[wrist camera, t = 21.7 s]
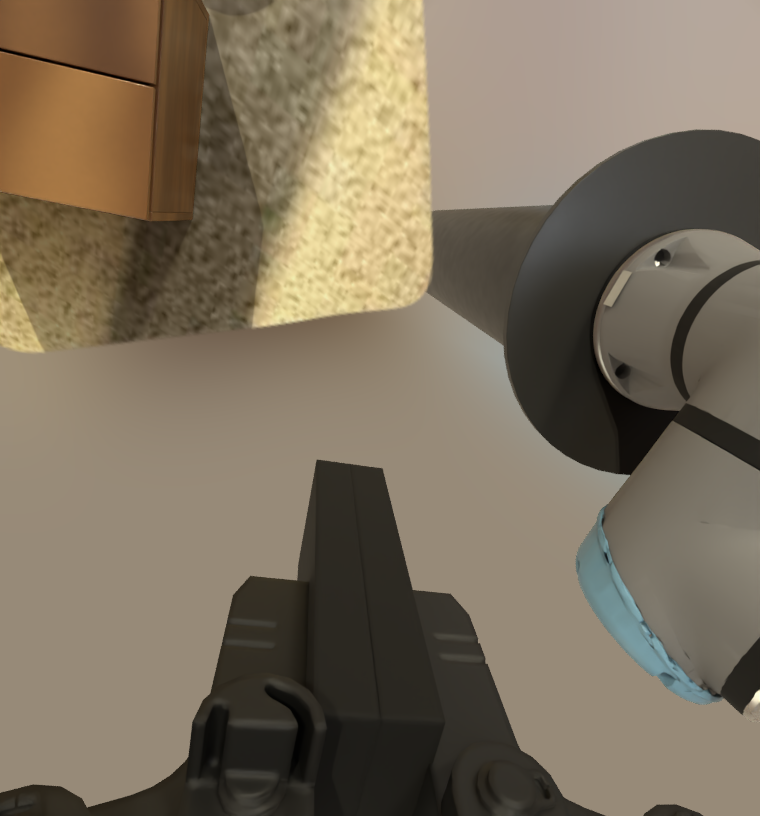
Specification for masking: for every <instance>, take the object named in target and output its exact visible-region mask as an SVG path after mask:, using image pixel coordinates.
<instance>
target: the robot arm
mask: <svg viewBox="0 0 760 816" xmlns="http://www.w3.org/2000/svg"><path fill="white" fill-rule="evenodd" d="M590 344H591V351H592V355H593V358H594V361H595V364H596V366H597V369H598V371H599V372H600V374H601V376H602V377H603V378H604V380H605V381H606V382H607V383H608V384H609V385H610V386H611V387H612V388H613V389H614V390H615V391H617V392H618V393H620V394H621V395H623V396H625V397H626V398H628V399H630V400H632V401H633V402H635V403H638V404H640V405H643V406H645V407H649V408H654V409H661V410H675V411H679V413H678V414H677V415H676V417H675V418H674V419H673V421H671V423H670V424H669V425H668V427H667V428H666V429H665V431H664V432H663V433H662V435H661V436H660V437H659V439H658V440H657V441H656V443H655V444H654V445H653V447H652V448H651V449H650V451H649V452H648V453H647V455H646V456H645V457H644V459H643V460H642V461H641V463H640V464H639V465H638V466H637V468H636V469H635V470H634V472H633V473H632V474H631V475H630V477H629V478H628V479H627V481H626V482H625V483H624V484H623V486H622V487H621V488H620V490H619V491H618V492H617V493H616V495H615V496H614V497H613V499H612V500H611V501H610V502H609V504H607V505H606V506H605V507H603V508H602V509H601V510H600V512H599V514H598V517H597V522H596V523H595V525H594V526H593V528H592V529H591V531H590V532H589V534H588V535H587V537H586V538H585V539H584V541H583V543H582V544H581V545H580V547H579V549H578V552H577V556H576V571H577V574H578V580H579V584H580V586H581V589H582V591H583V593H584V595H585V597H586V599H587V601H588V603H589V605H590V606H591V608H592V609H593V611H594V613H595V614H596V616H597V617H598V619H599V620H600V621H601V623H602V624H603V625H604V627H605V628H606V629H607V631H608V632H609V633H610V634H611V636H612V637H613V638H614V639H615V640H616V641H617V643H618V644H619V645H620V646H621V647H622V648H623V649H624V650H625V652H626V653H627V654H628V655H629V656H630V657H631V658H632V659H633V660H634V661H635V662H636V663H637V664H638V665H639V666H640V667H642V668H643V669H644V670H645V671H646V672H647V673H649V674H650V675H651V676H657V677H658V678H659V679H660V680H661V682H662V683H663V684H664V685H665V687H666V688H667V689H669V690H670V691H672V692H673V693H675V694H676V695H678V696H680V697H681V698H683V699H685V700H688V701H691V702H693V703H696V704H710V703H712V702H719V701H721V700H722V699H723V698H725V699H726V700H727V701H728V702H729V703H730V704H731V705H732V706H733V707H734V708H735V709H736V710H738V711H739V712H740V713H741V714H742V715H743V716H744V717H745V718H747V719H748V720H749V721H754V722H760V250H758V249H756V248H755V247H753V246H751V245H750V244H748V243H747V242H745V241H743V240H742V239H740V238H738V237H736V236H733V235H731V234H729V233H725V232H722V231H717V230H708V229H681V230H675V231H671V232H667V233H664V234H661V235H659V236H656V237H654V238H652V239H650V240H648V241H646V242H645V243H643V244H641V245H640V246H638V247H637V248H636V249H634V250H633V251H632V252H631V253H629V254H628V255H627V256H626V257H625V258H624V259H623V260H622V261H621V262H620V263H619V264H618V265H617V266H616V268H615V269H614V270H613V271H612V273H611V274H610V276H609V277H608V279H607V280H606V282H605V283H604V285H603V287H602V289H601V291H600V293H599V295H598V298H597V300H596V303H595V306H594V310H593V313H592V318H591V325H590ZM0 816H605V815H602V814H600V813H597V812H594V811H592V810H589V809H586V808H584V807H582V806H580V805H577V804H575V803H573V802H571V801H569V800H567V799H565V798H564V797H563V796H562V794H561V792H560V791H559V789H558V787H557V785H556V784H555V782H554V781H553V779H552V777H551V775H550V774H549V773H548V772H547V771H546V770H545V769H544V768H543V767H542V766H541V765H539V763H538V762H537V761H536V760H535V759H534V758H533V757H531V756H529V755H528V754H526V753H524V752H523V751H521V750H520V748H519V746H518V744H517V741H516V739H515V736H514V733H513V731H512V728H511V725H510V723H509V720H508V717H507V715H506V712H505V709H504V707H503V704H502V702H501V699H500V696H499V693H498V691H497V688H496V686H495V683H494V680H493V678H492V675H491V672H490V670H489V667H488V664H485V656H484V653H483V651H482V648H481V645H480V643H478V638H477V635H476V632H475V629H474V627H473V624H472V622H471V619H470V616H469V614H467V612H466V611H465V610H464V609H463V608H462V606H461V605H460V604H459V603H458V602H457V601H456V600H455V599H454V597H453V596H452V595H451V594H446V593H436V592H426V591H416V590H412V586H411V582H410V577H409V573H408V569H407V566H406V561H405V557H404V554H403V550H402V545H401V541H400V537H399V533H398V529H397V525H396V521H395V517H394V513H393V509H392V505H391V501H390V497H389V493H388V489H387V485H386V482H385V477H384V473H383V469H382V468H374V467H367V466H360V465H353V464H345V463H338V462H330V461H323V460H317V462H316V467H315V473H314V479H313V484H312V490H311V496H310V501H309V507H308V512H307V518H306V524H305V529H304V535H303V541H302V547H301V552H300V558H299V565H298V580H297V581H296V580H285V579H275V578H265V577H255V576H250V577H249V578H248V580H246V581H245V583H244V584H243V585H242V586H241V587H240V588H239V589H238V591H236V593H235V594H234V595H233V598H232V603H231V607H230V611H229V615H228V620H227V624H226V628H225V633H224V637H223V642H222V646H221V650H220V654H219V659H218V663H217V668H216V672H215V676H214V680H213V685H212V689H211V693H210V695H208V696H207V697H206V698H205V699H204V700H203V701H202V704H201V706H200V708H199V710H198V712H197V714H196V716H195V718H194V720H193V723H192V732H191V740H190V749H189V757H188V758H187V760H186V761H185V762H184V763H183V764H182V765H181V766H180V767H179V768H178V769H177V770H176V771H175V772H174V773H173V774H171V775H170V776H169V777H167V778H166V779H164V780H162V781H161V782H159V783H158V784H156V785H155V786H153V787H151V788H148V789H146V790H143V791H141V792H138V793H136V794H133V795H130V796H127V797H123V798H120V799H116V800H113V801H109V802H105V803H102V804H98V805H95V806H91V807H88V808H87V807H86V805H85V804H84V801H83V800H82V798H80V797H78V796H77V795H75V794H73V793H71V792H70V791H68V790H66V789H64V788H63V787H60V786H45V785H30V786H25V787H21V788H18V789H14V790H10V791H6V792H2V793H0ZM644 816H703V815H701V814H700V813H698V812H695V811H692V810H689V809H687V808H684V807H681V806H678V805H656V806H655V807H653V808H652V809H650V810H649V811H648V812H646V813H645V814H644Z"/></svg>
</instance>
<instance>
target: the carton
mask: <svg viewBox="0 0 760 816" xmlns="http://www.w3.org/2000/svg"><path fill="white" fill-rule="evenodd" d="M208 22H209V14H208V12H207V10H206V8H205V6H204V4H203V2H202V0H0V51H1V52H5V53H9V54H14V55H18V56H22V57H26V58H31V59H35V60H39V61H43V62H48V63H52V64H56V65H60V66H65V67H69V68H73V69H77V70H82V71H86V72H90V73H94V74H99V75H103V76H107V77H111V78H116V79H120V80H124V81H129V82H133V83H137V84H141V85H146V86H150V87H153V88H155V107H154V126H153V144H152V163H151V181H150V200H149V218H148V220H146V221H177V220H192V219H193V206H194V194H195V182H196V170H197V157H198V145H199V133H200V120H201V108H202V96H203V84H204V71H205V59H206V47H207V35H208ZM2 193H5V192H2ZM8 194H10V193H8ZM13 195H15V194H13ZM18 196H20V195H18ZM23 197H25V196H23ZM28 198H30V197H28ZM33 199H36V198H33ZM38 200H41V199H38ZM44 201H46V200H44ZM49 202H51V201H49ZM54 203H56V202H54ZM59 204H61V203H59ZM64 205H66V204H64ZM69 206H72V205H69ZM74 207H77V206H74ZM79 208H82V207H79ZM85 209H87V208H85ZM90 210H92V209H90ZM95 211H97V210H95ZM100 212H102V211H100ZM105 213H107V212H105ZM110 214H113V213H110ZM115 215H118V214H115ZM121 216H123V215H121ZM126 217H128V216H126ZM131 218H133V217H131ZM136 219H138V218H136ZM141 220H143V219H141Z"/></svg>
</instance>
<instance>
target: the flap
mask: <svg viewBox="0 0 760 816" xmlns="http://www.w3.org/2000/svg"><path fill="white" fill-rule="evenodd" d="M154 107H155V88H153V87H150V86H146V85H141V84H137V83H133V82H129V81H124V80H120V79H116V78H111V77H107V76H103V75H99V74H94V73H90V72H86V71H82V70H77V69H73V68H69V67H65V66H60V65H56V64H52V63H48V62H43V61H39V60H35V59H31V58H26V57H22V56H18V55H14V54H9V53H5V52H1V51H0V192H5V193H10V194H15V195H20V196H25V197H30V198H36V199H41V200H46V201H51V202H56V203H61V204H66V205H72V206H77V207H82V208H87V209H92V210H97V211H102V212H107V213H113V214H118V215H123V216H128V217H133V218H138V219H143V220H148V218H149V200H150V181H151V163H152V144H153V126H154Z"/></svg>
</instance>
